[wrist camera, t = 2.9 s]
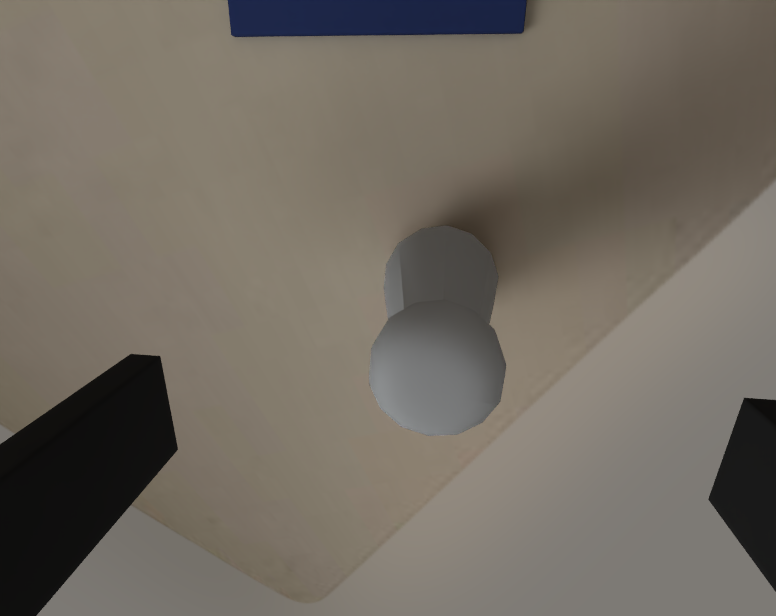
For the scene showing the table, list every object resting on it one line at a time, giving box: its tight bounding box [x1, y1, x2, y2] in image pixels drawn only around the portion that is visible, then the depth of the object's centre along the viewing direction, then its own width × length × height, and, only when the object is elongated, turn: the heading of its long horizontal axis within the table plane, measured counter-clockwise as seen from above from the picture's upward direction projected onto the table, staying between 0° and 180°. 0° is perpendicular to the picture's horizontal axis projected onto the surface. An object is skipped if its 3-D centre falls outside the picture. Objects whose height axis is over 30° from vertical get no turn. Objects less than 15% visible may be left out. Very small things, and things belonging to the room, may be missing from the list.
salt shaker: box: [369, 225, 506, 436], centre depth 19 cm, size 6×6×13 cm
